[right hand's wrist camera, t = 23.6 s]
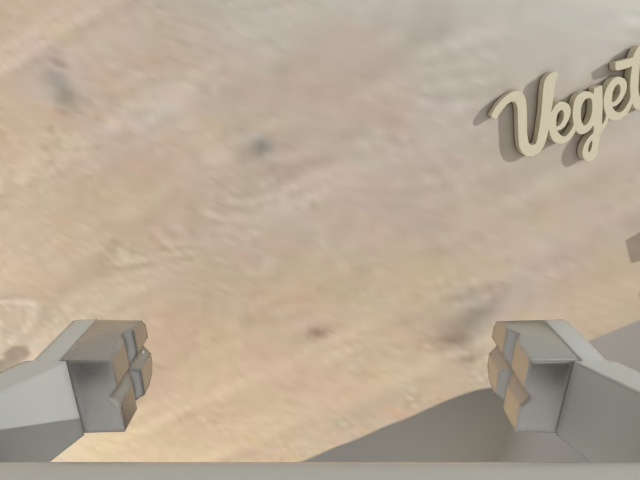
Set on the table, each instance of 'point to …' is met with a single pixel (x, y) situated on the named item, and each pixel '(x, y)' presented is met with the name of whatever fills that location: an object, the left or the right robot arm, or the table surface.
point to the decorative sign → (575, 109)
